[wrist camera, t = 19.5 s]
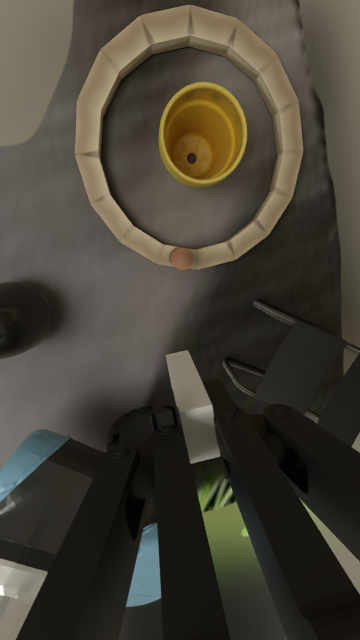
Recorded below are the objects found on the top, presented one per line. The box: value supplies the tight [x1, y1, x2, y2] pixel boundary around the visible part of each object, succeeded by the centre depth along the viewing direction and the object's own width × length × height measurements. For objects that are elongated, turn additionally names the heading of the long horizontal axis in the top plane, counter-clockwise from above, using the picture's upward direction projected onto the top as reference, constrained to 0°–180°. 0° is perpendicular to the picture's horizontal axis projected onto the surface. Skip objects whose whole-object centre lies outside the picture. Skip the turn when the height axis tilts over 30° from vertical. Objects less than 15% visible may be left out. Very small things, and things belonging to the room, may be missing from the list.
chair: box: [223, 300, 360, 449], centre depth 40 cm, size 13×17×22 cm
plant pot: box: [159, 82, 247, 188], centre depth 36 cm, size 10×10×10 cm
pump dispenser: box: [0, 282, 53, 359], centre depth 36 cm, size 10×10×15 cm
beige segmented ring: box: [75, 5, 303, 270], centre depth 37 cm, size 32×32×7 cm
